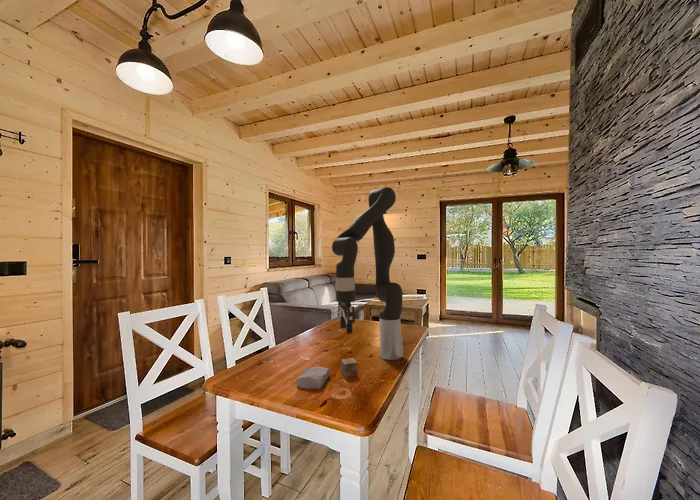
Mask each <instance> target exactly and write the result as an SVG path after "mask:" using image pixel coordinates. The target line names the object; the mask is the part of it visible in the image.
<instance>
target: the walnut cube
mask: <svg viewBox="0 0 700 500" xmlns="http://www.w3.org/2000/svg"><path fill="white" fill-rule="evenodd" d="M340 373H341V374H342V375H343V377H344V378H349V377H351V378H352V377H355V376H356V377H357V376H358V362H357V361H356V359H355V358H354V357H350V358H343V359H340Z"/></svg>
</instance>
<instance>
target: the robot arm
mask: <svg viewBox="0 0 700 500" xmlns="http://www.w3.org/2000/svg"><path fill="white" fill-rule="evenodd" d="M396 197H397V196H396V192H395V191H394V189H393V188H392V187H389V186H385V187H379V188H375V189H373V190H371V191H370V192H369V195H368V207H369V208H367V209H366V210H365V211H364V212H362V213H361V214H360V215H358V216H357V217H356V218H355V219H354V221H352V222H351V223H350V225H349V226H348V228H347V229H345V230H344V231H343V232H342V233H340V234H339V235H338V236H337V237H336V238H335V239H334V240H333V242H332V244H331V250H332V252H333V254H334V255H335V256H338V257H339V256H342V259H341V261H340V262H337V263H336V265H335V275H336V276H335V279H336V280H335V301H336V302H337V305H338V306H337V309H338V310H337V315H338V317H339V320H340V321H339V322H340V323H339V326H340V328H341V329H346V330H345V331H346V332H345V333H346V334H347V335H350V334H351V335H352V334H353V324H354V323H356V321H355V306H354V305H353V306H352V304H351V303H353V302H355V301H356V280H355V264H356V261H357V255H358V250H359V249H358V242H359V241H361V240H362V239H363V238H364V237H365V236H366V234H367V233H368V232H369V230H370V229H371V227H372V235H373V236H372V237H373V251H374V261H375V265H374V266H375V294H376V297H377V300H379V301H380V302H384V303H385V307H384V309H382V310H381V311H379V356H380V358H382V359H383V360H387V361H396V360H400V359H401V358H404V357H403V355H404V354H403V353H404V351H403V345H404V344H403V343H404V341H403V340H404V338H403V335H402V334H401V331H402V330H401V329H402V328H401V314H402V310H403V289H402V287H401V285H400V284H399V283H397V282H391V280H390V270H391V266H392V262H393V261H394V257H395V253H396V248H395V238H394V235H393V233H392V231H391V229H390V228H389V227H388V225H387V223H386V220H385V218H384V214H385V213H386V212H387V211H388V210H390V208H392V207H393V206H394V204H395V203H396V199H397V198H396Z"/></svg>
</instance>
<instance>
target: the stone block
mask: <svg viewBox="0 0 700 500" xmlns="http://www.w3.org/2000/svg"><path fill="white" fill-rule="evenodd" d="M329 377H330V368H329V367H323V366H313V367H307V368H305V369H304V370H303V371H302V372H301V373H300V375H299V376H298V377H297V378H296V384H297V386H298V387H299V388H301V389H315V390H316V389H317V390H320V389H322V388H323V386H324V384H325V383H326V381H327V380H328V378H329Z"/></svg>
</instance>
